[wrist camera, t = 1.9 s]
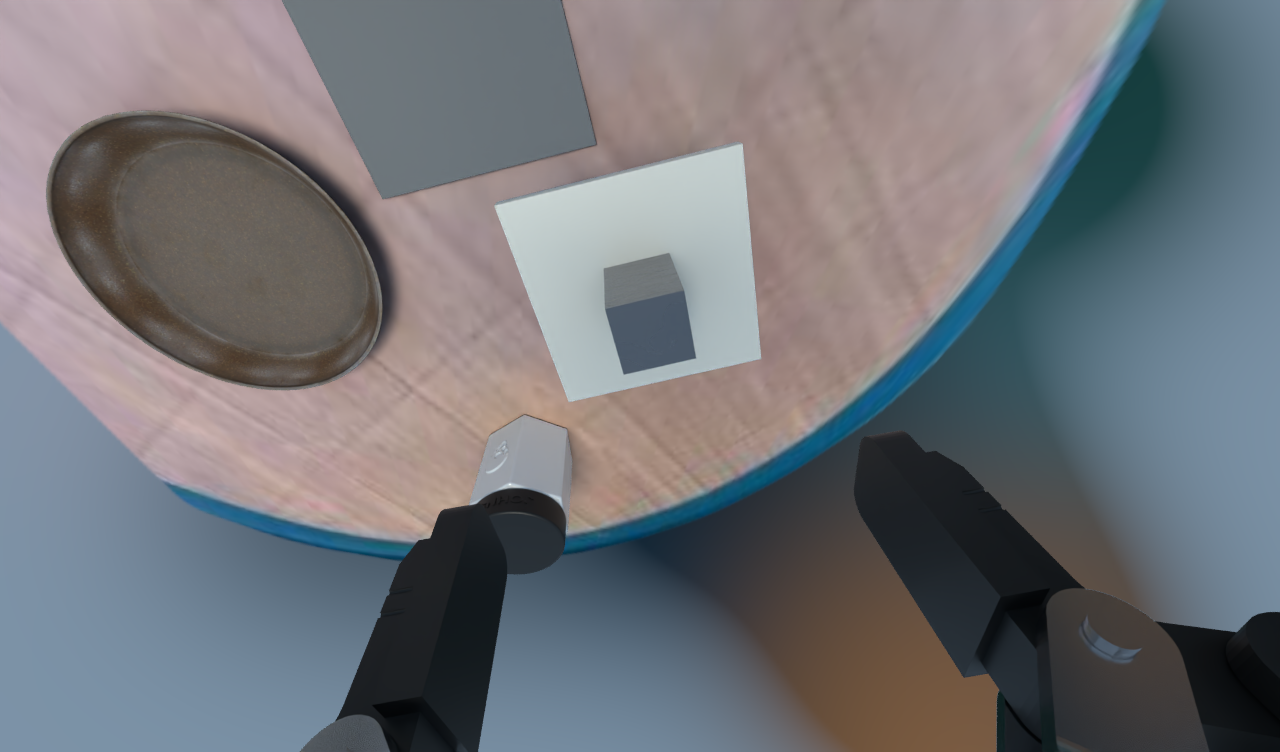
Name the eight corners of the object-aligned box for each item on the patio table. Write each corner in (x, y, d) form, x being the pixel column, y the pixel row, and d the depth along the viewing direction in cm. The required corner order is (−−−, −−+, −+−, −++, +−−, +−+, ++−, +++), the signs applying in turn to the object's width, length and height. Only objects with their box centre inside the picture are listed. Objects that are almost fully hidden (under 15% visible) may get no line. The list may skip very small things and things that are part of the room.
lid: (738, 141, 22) (777, 160, 17) (757, 352, 29) (789, 408, 24) (497, 201, 23) (470, 236, 18) (569, 394, 29) (564, 458, 25)
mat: (516, -183, 25) (514, -189, 24) (596, 143, 33) (596, 144, 33) (236, -100, 26) (229, -104, 25) (385, 197, 34) (382, 199, 34)
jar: (540, 401, 45) (524, 494, 35) (590, 452, 49) (588, 548, 39) (471, 442, 47) (437, 542, 37) (524, 488, 51) (506, 588, 41)
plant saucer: (312, 409, 44) (292, 432, 41) (43, 250, 35) (-5, 265, 32) (449, 268, 38) (437, 284, 35) (166, 26, 28) (119, 22, 26)
